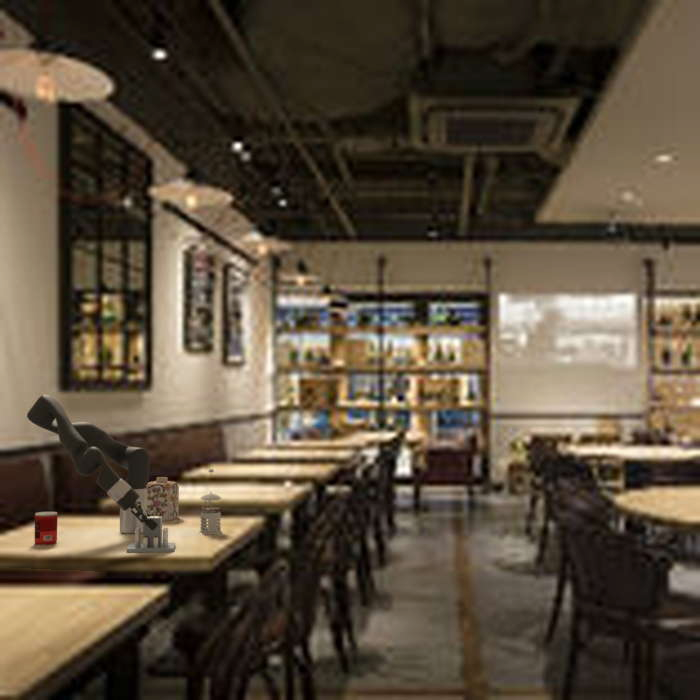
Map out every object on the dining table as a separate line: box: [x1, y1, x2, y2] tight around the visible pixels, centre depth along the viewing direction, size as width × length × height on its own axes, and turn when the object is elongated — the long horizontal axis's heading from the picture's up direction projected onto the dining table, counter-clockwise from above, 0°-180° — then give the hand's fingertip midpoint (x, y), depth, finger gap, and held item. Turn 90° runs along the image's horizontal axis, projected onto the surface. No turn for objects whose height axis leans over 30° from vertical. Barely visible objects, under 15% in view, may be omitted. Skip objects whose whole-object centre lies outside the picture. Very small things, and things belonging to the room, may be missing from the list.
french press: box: [198, 468, 224, 535], centre depth 376 cm, size 10×12×25 cm
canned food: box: [34, 511, 58, 546], centre depth 348 cm, size 8×8×11 cm
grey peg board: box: [126, 526, 176, 553], centre depth 338 cm, size 16×12×7 cm
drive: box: [142, 516, 163, 547], centre depth 338 cm, size 6×5×10 cm
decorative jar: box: [146, 476, 180, 522], centre depth 412 cm, size 12×12×18 cm
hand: (155, 526), depth 338 cm, fingers open, 8 cm apart
